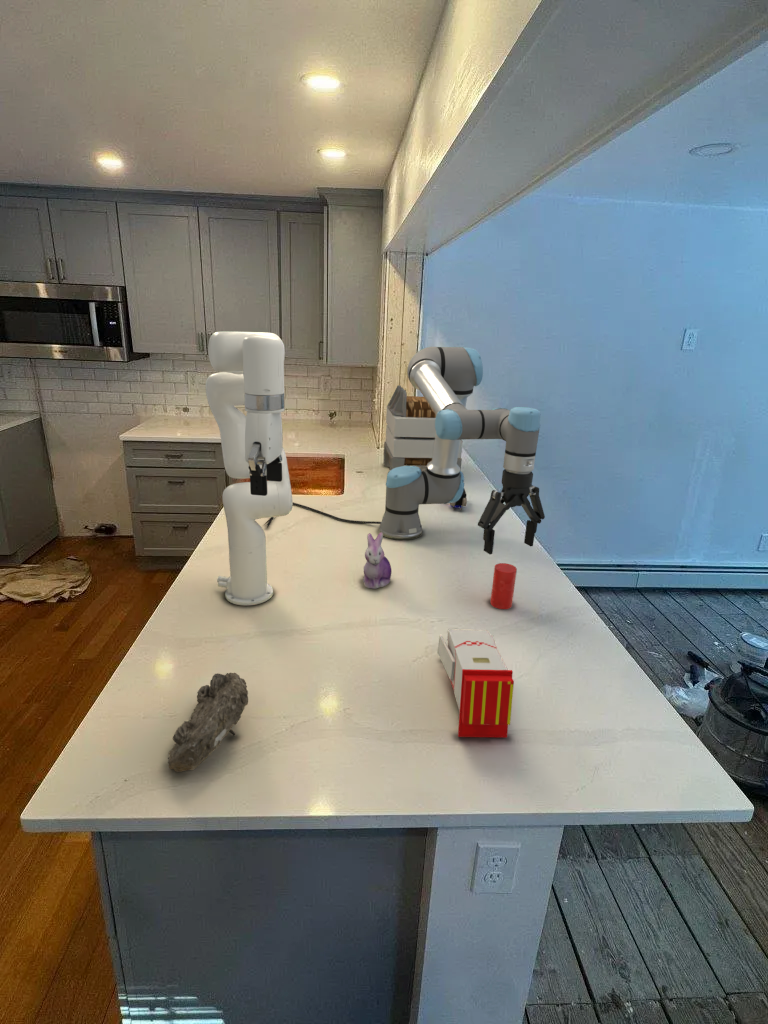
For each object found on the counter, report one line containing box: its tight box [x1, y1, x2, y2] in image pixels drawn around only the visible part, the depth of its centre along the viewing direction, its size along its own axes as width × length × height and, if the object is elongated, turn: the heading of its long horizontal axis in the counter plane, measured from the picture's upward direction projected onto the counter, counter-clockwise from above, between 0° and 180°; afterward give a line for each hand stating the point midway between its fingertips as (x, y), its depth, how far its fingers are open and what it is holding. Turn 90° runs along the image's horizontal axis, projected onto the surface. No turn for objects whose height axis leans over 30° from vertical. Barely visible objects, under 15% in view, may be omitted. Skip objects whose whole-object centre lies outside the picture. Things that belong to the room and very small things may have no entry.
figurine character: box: [449, 488, 468, 511], centre depth 230 cm, size 7×8×15 cm
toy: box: [437, 628, 515, 738], centre depth 117 cm, size 12×13×30 cm
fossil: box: [167, 672, 249, 773], centre depth 102 cm, size 22×10×15 cm
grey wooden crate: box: [383, 384, 464, 472], centre depth 268 cm, size 34×33×41 cm
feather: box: [263, 517, 275, 529], centre depth 211 cm, size 2×28×2 cm
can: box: [489, 562, 518, 610], centre depth 153 cm, size 6×6×11 cm
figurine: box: [362, 532, 392, 589], centre depth 161 cm, size 9×10×15 cm
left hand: (267, 487), depth 115 cm, fingers open, 9 cm apart
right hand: (508, 548), depth 149 cm, fingers open, 13 cm apart
